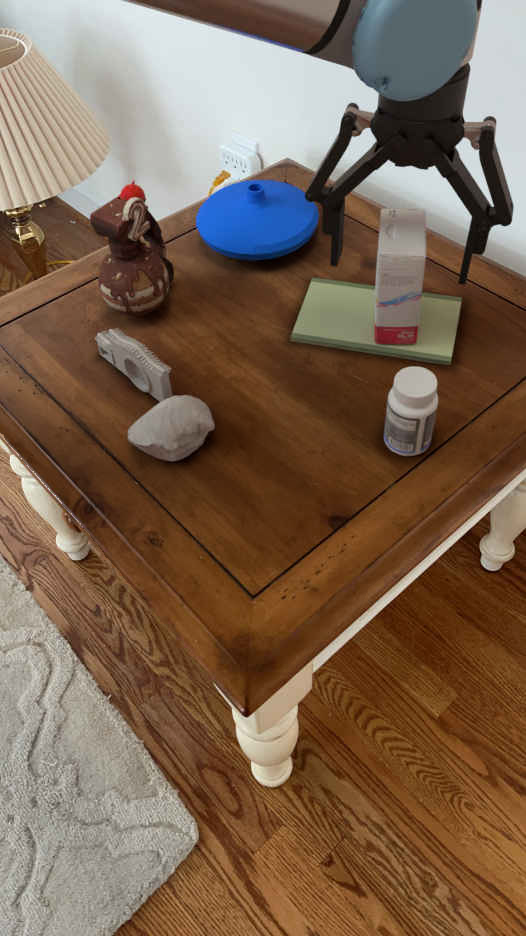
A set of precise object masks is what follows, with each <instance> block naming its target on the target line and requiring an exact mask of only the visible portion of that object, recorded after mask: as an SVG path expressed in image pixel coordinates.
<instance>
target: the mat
mask: <svg viewBox="0 0 526 936" xmlns="http://www.w3.org/2000/svg"><path fill="white" fill-rule="evenodd" d="M462 302H463V297H460V296H453V295H445V294H438V293H431V292H424V291H422V296H421V306H420V315H419V325H418V334H417V343H416V344H377V343H375V342H374V320H375V314H374V313H375V285H371V284H365V283H357V282H350V281H342V280H335V279H327V278H319V277H311V280H310V283H309V286H308V289H307V291H306V294H305V297H304V299H303V302H302V305H301V307H300V311H299V313H298V315H297V319H296V322H295V324H294V327H293V330H292V332H291V335H290V342H293V343H300V344H305V345H306V344H307V345H314V346H319V347H327V348H334V349H339V350H347V351H351V352H352V351H353V352H360V353H366V354H373V355H379V356H383V357H385V356H386V357H392V358H399V359H404V360H410V361H411V360H412V361H419V362H423V363H430V364H438V365H445V366H451V364H452V359H453V353H454V348H455V342H456V337H457V330H458V324H459V320H460V313H461V308H462Z"/></svg>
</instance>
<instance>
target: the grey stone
mask: <svg viewBox="0 0 526 936" xmlns="http://www.w3.org/2000/svg"><path fill="white" fill-rule="evenodd" d="M215 425H216V424H215V421H214V419H213V415H212V412H211V410H210V408H209V406H207V404H206V403H205V402H204V401H202V399H200V398H197V397H195V396H193V395H189V394H183V395H173V397H170V398H167V399H165V400H163V401H161V402H158V403H157V404H156V405H153V407H152V408H151V409H149V410H148V411H147V412H146V413H144V414H143V415H142V416H141V417H140V418H138V419H137V420H135V422H134V423H133V424H132V425H130V427H129V429H128V430H127V440H128V442H129V443H130V444H131V445H132V446H135V447H136V448H137V449H139V450H141V451H142V452H145V454H147V455H150V456H151V457H153V458H156V459H159V460H163V461H167V462H168V461H169V462H177V461H180V460H183V459H185V458H187V457H189V456H190V455H191V454H192V453H194V452H195V451H196V450H198V449H199V448H200V447H201V446H203V444H204V443H205V439H206V437H207V436H208V435H209V432H211V431H213V430H215V427H216V426H215Z"/></svg>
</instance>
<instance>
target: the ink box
mask: <svg viewBox="0 0 526 936" xmlns="http://www.w3.org/2000/svg"><path fill="white" fill-rule="evenodd" d="M377 240H378V241H377V251H376V252H377V253H376V254H377V255H376V266H375V267H376V268H375V282H374V284H375V285H374V286H375V313H374V314H375V320H374V342H375V343H377V344H416V343H417V334H418V325H419V315H420V306H421V296H422V292H423V286H424V277H425V268H426V259H427V213H426V209H423V208H422V209H421V208H390V207H389V208H387V207H386V208H384V207H382V208H381V210H380V217H379V229H378V239H377Z"/></svg>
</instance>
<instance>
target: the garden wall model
mask: <svg viewBox="0 0 526 936" xmlns="http://www.w3.org/2000/svg"><path fill="white" fill-rule="evenodd" d="M94 340H95V341H96V342H97V343H96V345H97V347H98V351H99V354H100V356H101V357H103V358H104V359H105V360H106V361H108V362H109V363H110V364H111V365H113V366H114V367H115V368H116V369H118V370H119V371H120V372H122V373H123V374H124V375H125V376H126V377H128V378H129V380H130V381H131V382H132V383H133V385H135V387H137V389H138V390H140V391H142V392H144V393H148V394H149V395H151V397H153V398H154V399H156V400H157V401H158V403H160V402H161V401H163V400H165V399H167V398H170V397H173V396H174V395H173V390H172V386H171V385H172V384H171V381H170V376H169V374H170V373H171V370H172V367H170V366H169V365H168V364H165V363H163V361H161V359H159V358H158V356H156V354H154V352H153V351H151V350H148V349H149V348H148V347H146V344H143V342H140V341H139V340H137V339H136V338H133V337H130V336H128V335H126V333H124V332H123V331H122V330H120V328H119V327H117V328H114V329H112V328H110V329H108V331H107V330H105V331H101V332H98V333H97V334H96V336H95V337H94Z"/></svg>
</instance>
